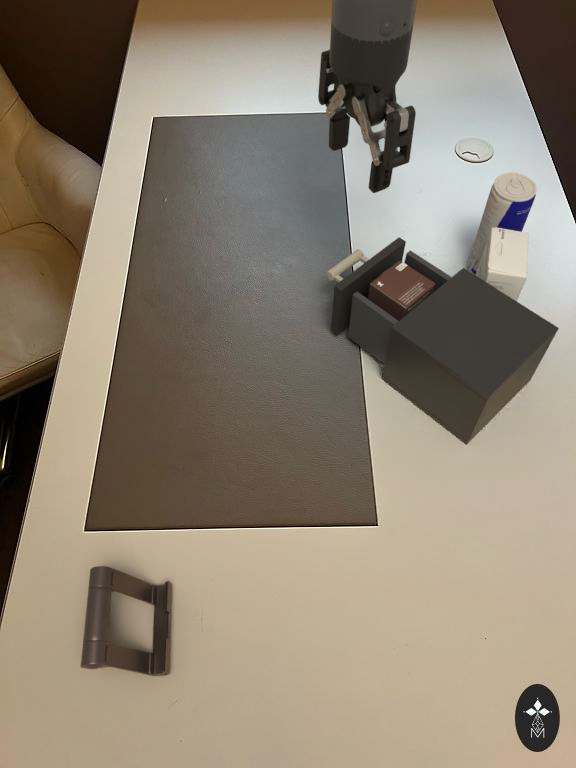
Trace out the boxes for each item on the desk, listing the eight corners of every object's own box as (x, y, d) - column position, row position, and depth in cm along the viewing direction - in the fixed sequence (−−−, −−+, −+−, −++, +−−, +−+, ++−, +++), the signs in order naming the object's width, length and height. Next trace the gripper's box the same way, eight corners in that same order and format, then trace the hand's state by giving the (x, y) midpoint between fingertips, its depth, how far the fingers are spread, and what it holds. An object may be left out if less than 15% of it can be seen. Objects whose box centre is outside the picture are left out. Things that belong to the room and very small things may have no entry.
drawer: (308, 313, 86) (309, 267, 79) (368, 267, 91) (374, 220, 84) (401, 385, 79) (412, 342, 72) (461, 331, 84) (477, 286, 77)
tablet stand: (171, 677, 61) (155, 660, 54) (90, 684, 61) (64, 668, 54) (173, 587, 66) (159, 561, 59) (98, 593, 66) (75, 568, 59)
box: (397, 346, 81) (405, 309, 75) (363, 321, 84) (368, 283, 78) (427, 321, 84) (437, 283, 78) (392, 297, 86) (400, 258, 80)
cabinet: (381, 379, 81) (391, 326, 72) (446, 322, 86) (463, 267, 77) (466, 445, 75) (488, 397, 67) (530, 380, 81) (559, 328, 72)
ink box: (502, 340, 84) (529, 278, 75) (465, 333, 85) (487, 272, 75) (504, 293, 89) (530, 230, 79) (469, 288, 90) (490, 224, 80)
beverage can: (480, 288, 90) (510, 204, 77) (459, 262, 93) (484, 178, 80) (512, 276, 91) (547, 192, 79) (491, 251, 94) (520, 166, 81)
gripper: (453, 41, 54) (421, 193, 68) (365, -25, 61) (352, 125, 75) (381, 63, 52) (362, 216, 66) (298, -7, 59) (297, 143, 73)
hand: (357, 167), depth 70 cm, fingers open, 8 cm apart
